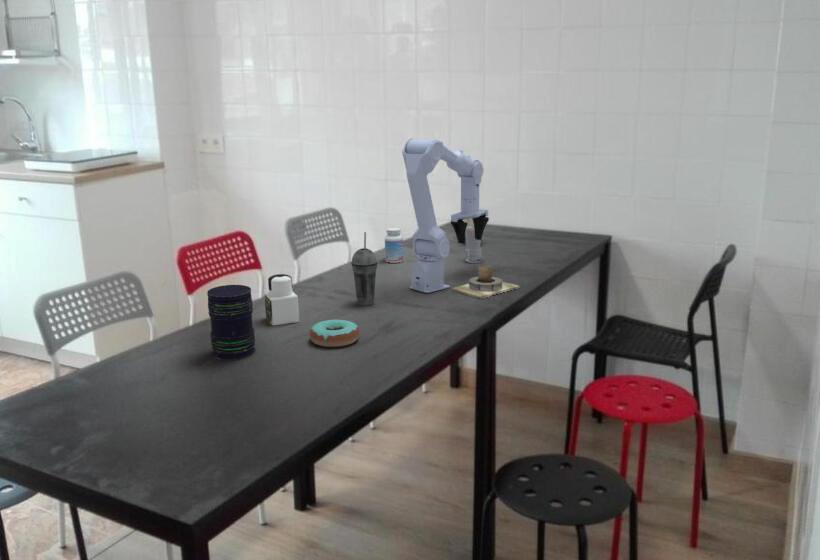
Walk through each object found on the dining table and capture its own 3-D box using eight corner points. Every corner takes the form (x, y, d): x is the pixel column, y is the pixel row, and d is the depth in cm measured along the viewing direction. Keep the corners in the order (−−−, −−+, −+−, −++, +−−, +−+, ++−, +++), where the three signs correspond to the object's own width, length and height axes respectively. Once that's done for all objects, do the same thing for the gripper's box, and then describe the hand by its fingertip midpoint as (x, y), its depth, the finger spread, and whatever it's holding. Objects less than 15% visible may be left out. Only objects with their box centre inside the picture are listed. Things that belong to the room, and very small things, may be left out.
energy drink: (481, 259, 258) (481, 225, 255) (481, 263, 253) (481, 228, 250) (465, 259, 259) (466, 225, 256) (465, 263, 254) (465, 228, 251)
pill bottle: (403, 263, 255) (402, 230, 252) (384, 263, 255) (384, 230, 252) (403, 259, 261) (402, 227, 258) (385, 259, 261) (385, 227, 258)
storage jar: (215, 363, 169) (210, 298, 165) (208, 349, 178) (203, 287, 174) (260, 356, 173) (255, 293, 169) (251, 342, 181) (246, 282, 177)
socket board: (481, 299, 213) (481, 289, 213) (451, 290, 222) (451, 281, 222) (519, 288, 224) (519, 279, 223) (489, 280, 232) (489, 271, 232)
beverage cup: (348, 305, 209) (345, 234, 204) (358, 298, 216) (356, 229, 211) (372, 308, 207) (370, 236, 202) (382, 300, 213) (380, 230, 208)
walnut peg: (484, 289, 220) (484, 269, 219) (475, 286, 223) (475, 266, 222) (494, 287, 222) (495, 267, 221) (486, 284, 225) (486, 264, 224)
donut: (348, 330, 190) (347, 314, 189) (367, 344, 180) (367, 328, 179) (302, 338, 185) (302, 322, 184) (320, 353, 175) (319, 336, 174)
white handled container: (265, 318, 200) (262, 274, 197) (292, 314, 202) (289, 271, 199) (272, 326, 193) (269, 280, 190) (299, 322, 196) (297, 277, 193)
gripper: (462, 202, 227) (462, 246, 231) (495, 197, 237) (495, 239, 240) (446, 199, 233) (446, 243, 236) (479, 194, 242) (478, 236, 245)
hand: (469, 241), depth 239 cm, fingers open, 7 cm apart
